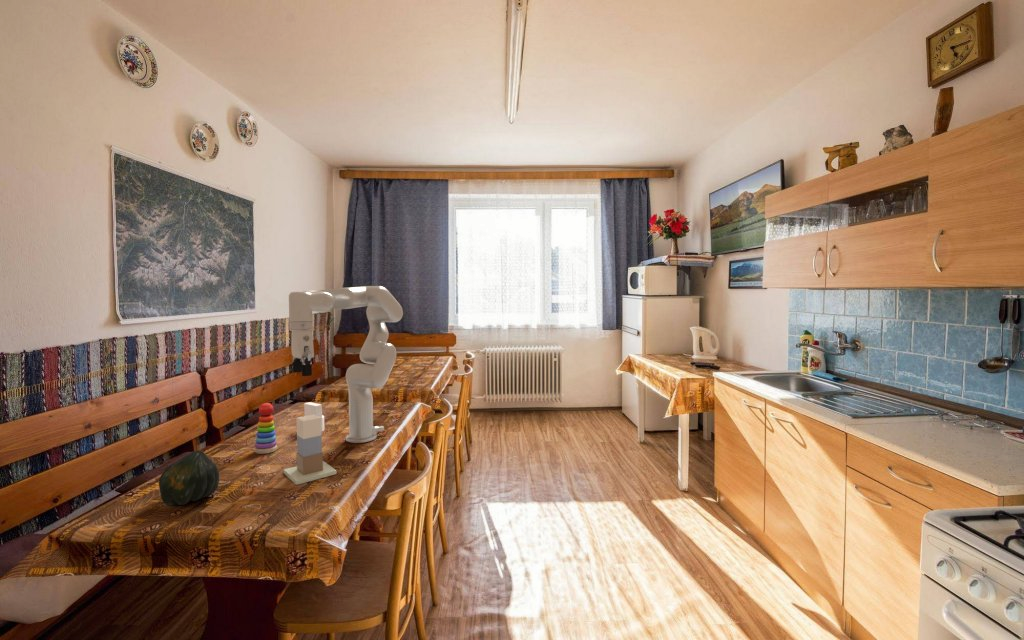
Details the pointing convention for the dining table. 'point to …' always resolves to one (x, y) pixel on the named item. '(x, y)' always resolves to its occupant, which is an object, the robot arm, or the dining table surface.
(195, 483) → the squash
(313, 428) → the cream brick
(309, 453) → the slate brick
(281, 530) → the dining table surface
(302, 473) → the baseplate
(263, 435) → the stacking toy
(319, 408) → the cylinder with rectangular tab
